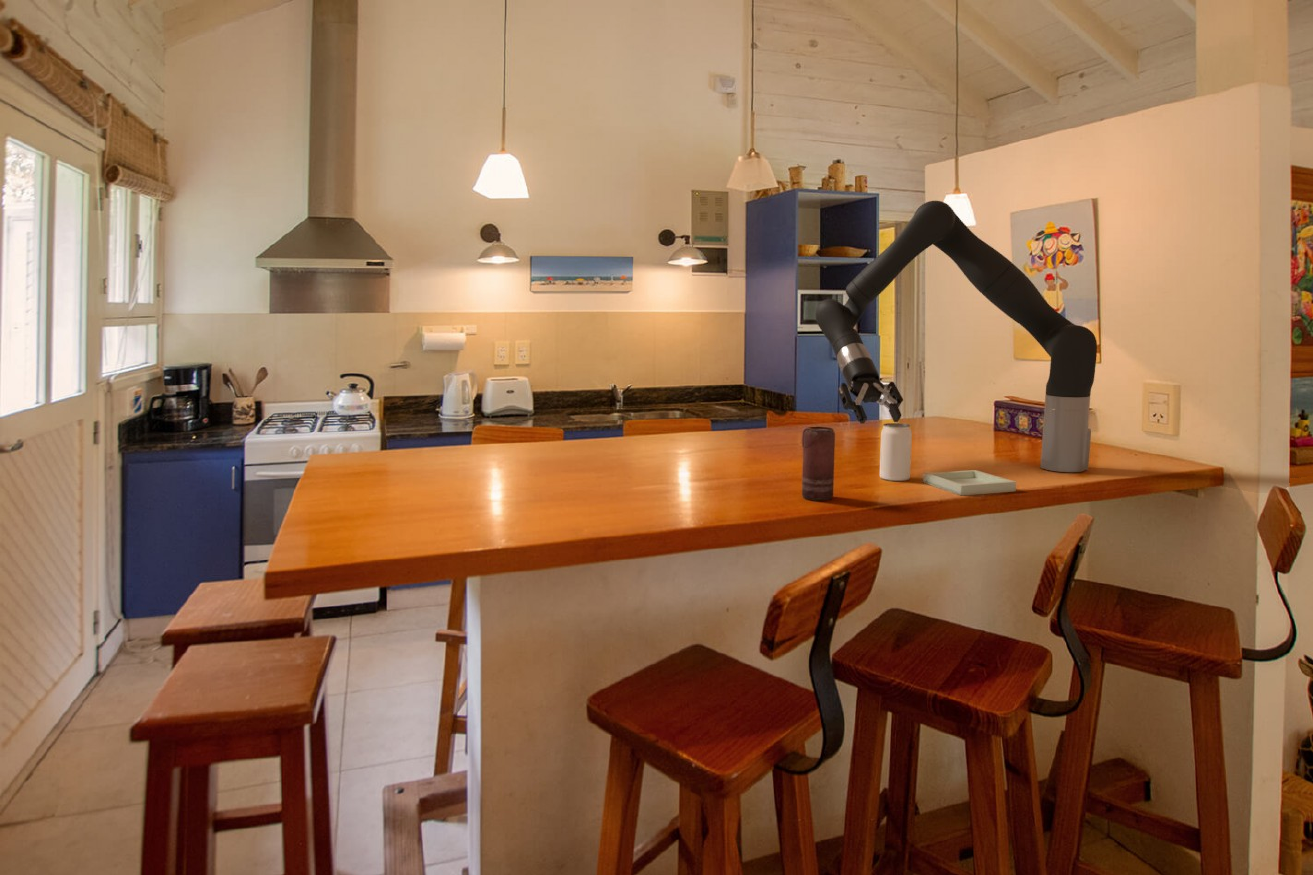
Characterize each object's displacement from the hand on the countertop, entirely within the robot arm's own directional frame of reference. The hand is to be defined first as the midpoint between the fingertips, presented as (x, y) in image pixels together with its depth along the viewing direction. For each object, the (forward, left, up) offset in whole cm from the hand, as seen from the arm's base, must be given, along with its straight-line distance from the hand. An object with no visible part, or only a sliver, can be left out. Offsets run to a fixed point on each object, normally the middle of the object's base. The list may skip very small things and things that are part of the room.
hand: (881, 420), depth 184 cm
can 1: (+25, +18, -12) cm, 33 cm away
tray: (-10, +18, -12) cm, 24 cm away
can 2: (0, +6, -12) cm, 14 cm away
